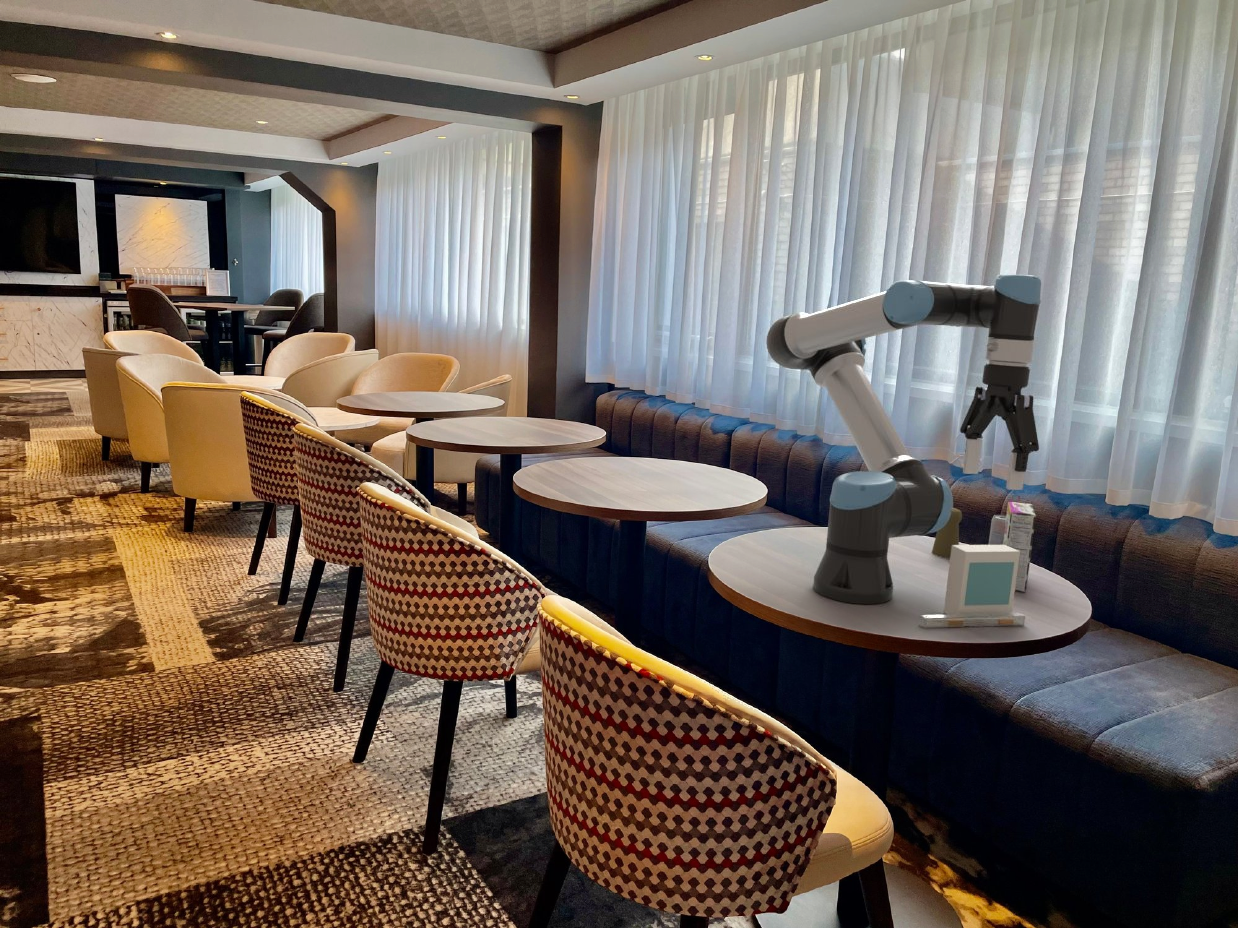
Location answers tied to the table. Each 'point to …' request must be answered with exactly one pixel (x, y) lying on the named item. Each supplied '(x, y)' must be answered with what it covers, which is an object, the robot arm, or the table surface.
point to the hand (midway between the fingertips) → (991, 481)
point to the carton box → (981, 579)
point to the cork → (948, 535)
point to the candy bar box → (1020, 538)
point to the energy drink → (997, 530)
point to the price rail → (972, 620)
